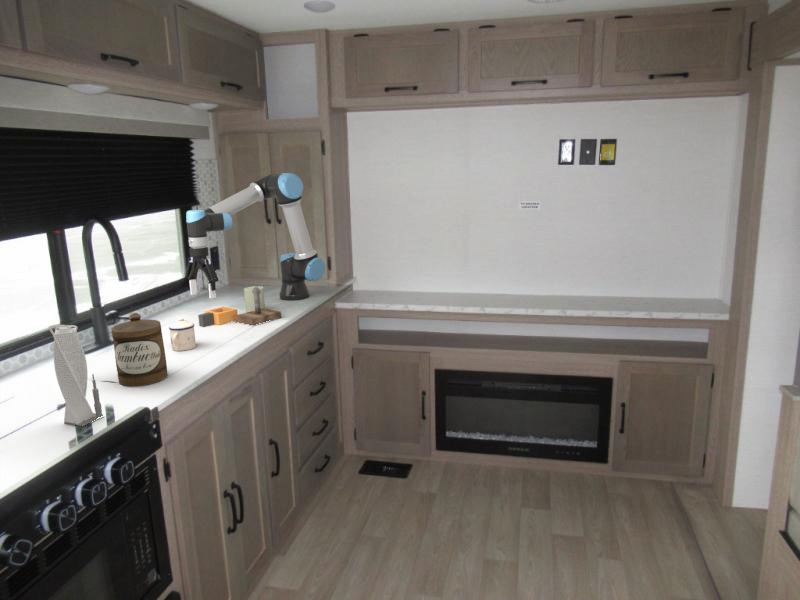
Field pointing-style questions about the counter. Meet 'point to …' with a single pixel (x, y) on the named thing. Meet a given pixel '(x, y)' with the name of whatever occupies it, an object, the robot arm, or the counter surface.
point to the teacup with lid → (182, 335)
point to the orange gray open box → (217, 316)
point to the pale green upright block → (250, 298)
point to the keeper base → (257, 317)
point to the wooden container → (139, 351)
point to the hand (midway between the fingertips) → (203, 296)
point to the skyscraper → (73, 376)
